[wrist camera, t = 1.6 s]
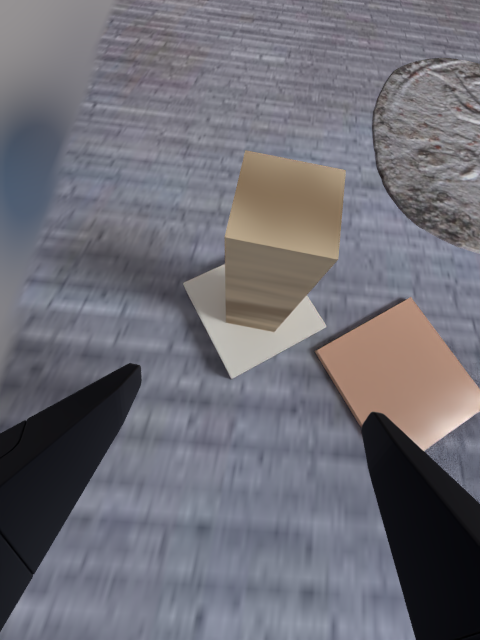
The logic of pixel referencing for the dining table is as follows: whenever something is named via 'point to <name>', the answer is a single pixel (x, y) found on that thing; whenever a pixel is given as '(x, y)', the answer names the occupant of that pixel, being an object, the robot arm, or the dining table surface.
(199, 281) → the white square tile
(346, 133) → the dining table surface
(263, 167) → the oak block
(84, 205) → the dining table surface
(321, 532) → the dining table surface
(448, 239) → the worn metal disc
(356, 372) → the terracotta tile
